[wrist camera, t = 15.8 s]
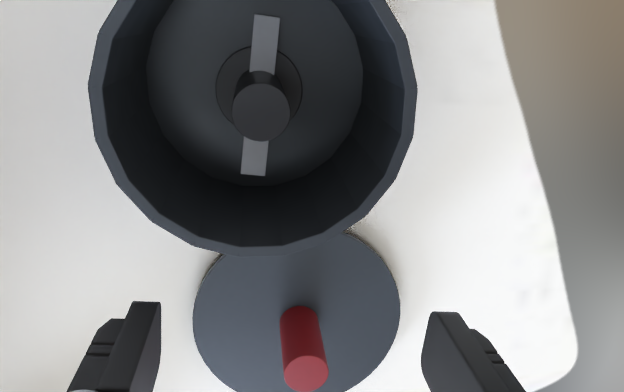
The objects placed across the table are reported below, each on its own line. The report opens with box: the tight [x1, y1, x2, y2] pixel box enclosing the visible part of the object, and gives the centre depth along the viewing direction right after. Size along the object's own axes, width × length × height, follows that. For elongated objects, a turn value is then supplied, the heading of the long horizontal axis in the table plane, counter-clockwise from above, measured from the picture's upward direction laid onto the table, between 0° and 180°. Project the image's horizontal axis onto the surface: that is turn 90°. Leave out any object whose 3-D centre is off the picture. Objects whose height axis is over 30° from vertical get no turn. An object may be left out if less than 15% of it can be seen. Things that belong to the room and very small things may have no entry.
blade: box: [216, 14, 302, 176], centre depth 27 cm, size 9×5×8 cm, turn 172°
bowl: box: [88, 0, 418, 257], centre depth 26 cm, size 14×14×10 cm
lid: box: [193, 232, 400, 392], centre depth 34 cm, size 15×15×7 cm
